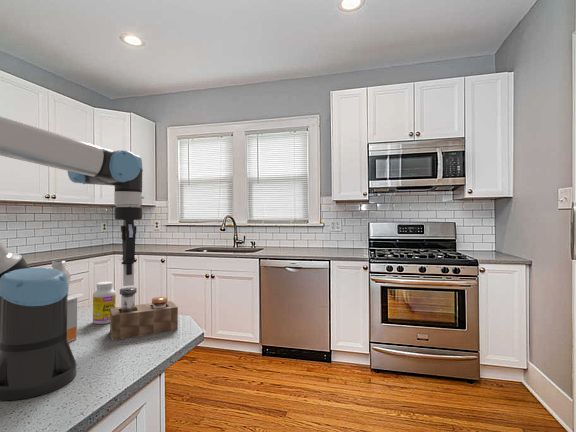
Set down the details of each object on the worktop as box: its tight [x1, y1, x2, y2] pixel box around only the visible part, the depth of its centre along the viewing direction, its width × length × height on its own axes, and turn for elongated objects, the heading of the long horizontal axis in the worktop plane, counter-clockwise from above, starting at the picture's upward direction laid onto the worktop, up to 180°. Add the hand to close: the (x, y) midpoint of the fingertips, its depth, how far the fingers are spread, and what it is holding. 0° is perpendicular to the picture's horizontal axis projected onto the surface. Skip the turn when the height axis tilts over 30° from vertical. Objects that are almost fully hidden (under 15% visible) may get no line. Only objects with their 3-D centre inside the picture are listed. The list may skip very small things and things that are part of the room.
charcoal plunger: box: [119, 287, 138, 313], centre depth 103 cm, size 5×5×9 cm
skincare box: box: [67, 296, 78, 343], centre depth 96 cm, size 6×4×12 cm
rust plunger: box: [151, 296, 168, 309], centre depth 108 cm, size 5×5×9 cm
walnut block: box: [109, 300, 179, 341], centre depth 106 cm, size 18×9×7 cm, turn 121°
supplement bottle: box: [92, 281, 117, 325], centre depth 114 cm, size 7×7×13 cm
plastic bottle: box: [51, 259, 71, 293], centre depth 113 cm, size 6×7×20 cm
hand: (128, 285), depth 103 cm, fingers closed
